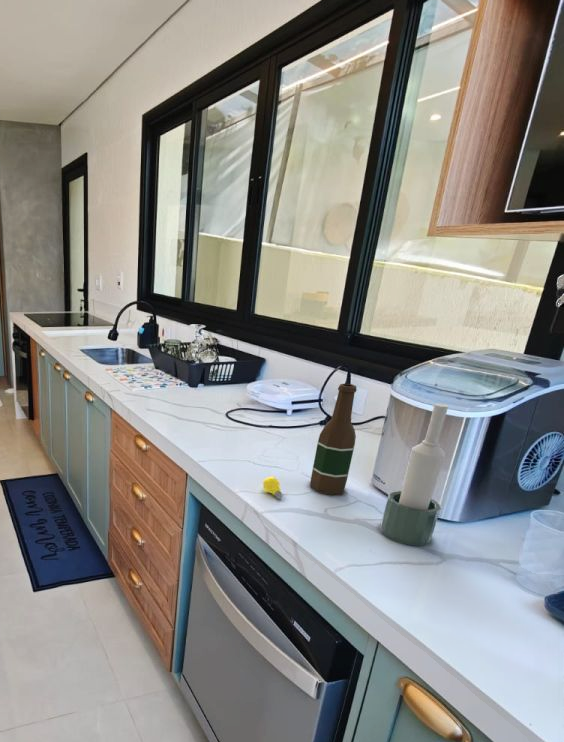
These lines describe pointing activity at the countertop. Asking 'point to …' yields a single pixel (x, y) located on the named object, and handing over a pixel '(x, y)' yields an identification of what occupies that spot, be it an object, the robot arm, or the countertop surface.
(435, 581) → the countertop surface
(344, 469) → the beer bottle
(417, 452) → the bottle
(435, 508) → the holder
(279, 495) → the light bulb
